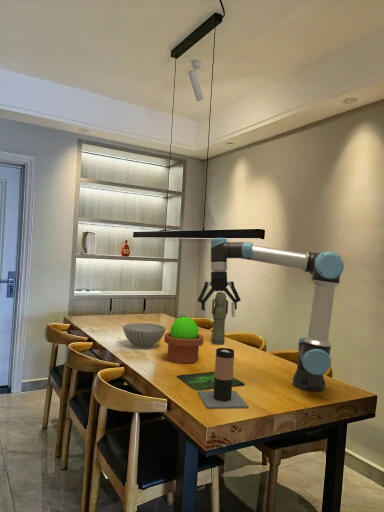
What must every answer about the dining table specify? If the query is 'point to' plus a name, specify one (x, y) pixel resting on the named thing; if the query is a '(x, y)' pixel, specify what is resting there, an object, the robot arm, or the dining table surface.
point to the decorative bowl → (143, 334)
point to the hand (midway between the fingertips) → (219, 317)
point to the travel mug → (223, 374)
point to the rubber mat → (215, 404)
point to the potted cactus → (183, 341)
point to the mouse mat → (203, 381)
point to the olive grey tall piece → (219, 318)
